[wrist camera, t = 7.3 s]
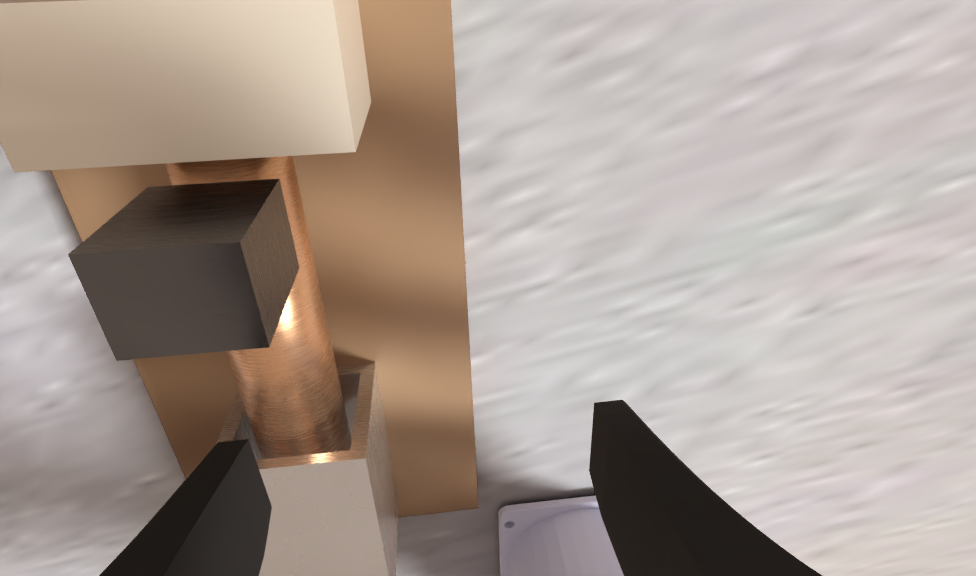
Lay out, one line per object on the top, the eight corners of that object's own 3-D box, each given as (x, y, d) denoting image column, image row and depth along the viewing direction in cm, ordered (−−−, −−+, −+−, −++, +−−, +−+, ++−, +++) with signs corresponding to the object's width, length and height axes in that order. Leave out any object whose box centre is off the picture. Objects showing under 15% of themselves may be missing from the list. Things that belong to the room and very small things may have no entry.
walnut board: (476, 490, 27) (478, 508, 26) (218, 519, 26) (211, 538, 25) (444, -81, 15) (446, -84, 14) (-26, -69, 14) (-55, -71, 13)
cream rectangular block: (371, 101, 17) (355, 152, 12) (122, 115, 16) (14, 172, 12) (355, -19, 15) (331, -9, 11) (78, -8, 14) (-65, 5, 10)
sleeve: (398, 502, 25) (395, 608, 21) (289, 514, 25) (264, 624, 21) (375, 361, 21) (365, 458, 17) (245, 373, 21) (202, 475, 17)
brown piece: (356, 422, 21) (335, 586, 16) (275, 430, 21) (225, 599, 16) (279, 35, 14) (195, 83, 9) (159, 40, 14) (-6, 92, 9)
